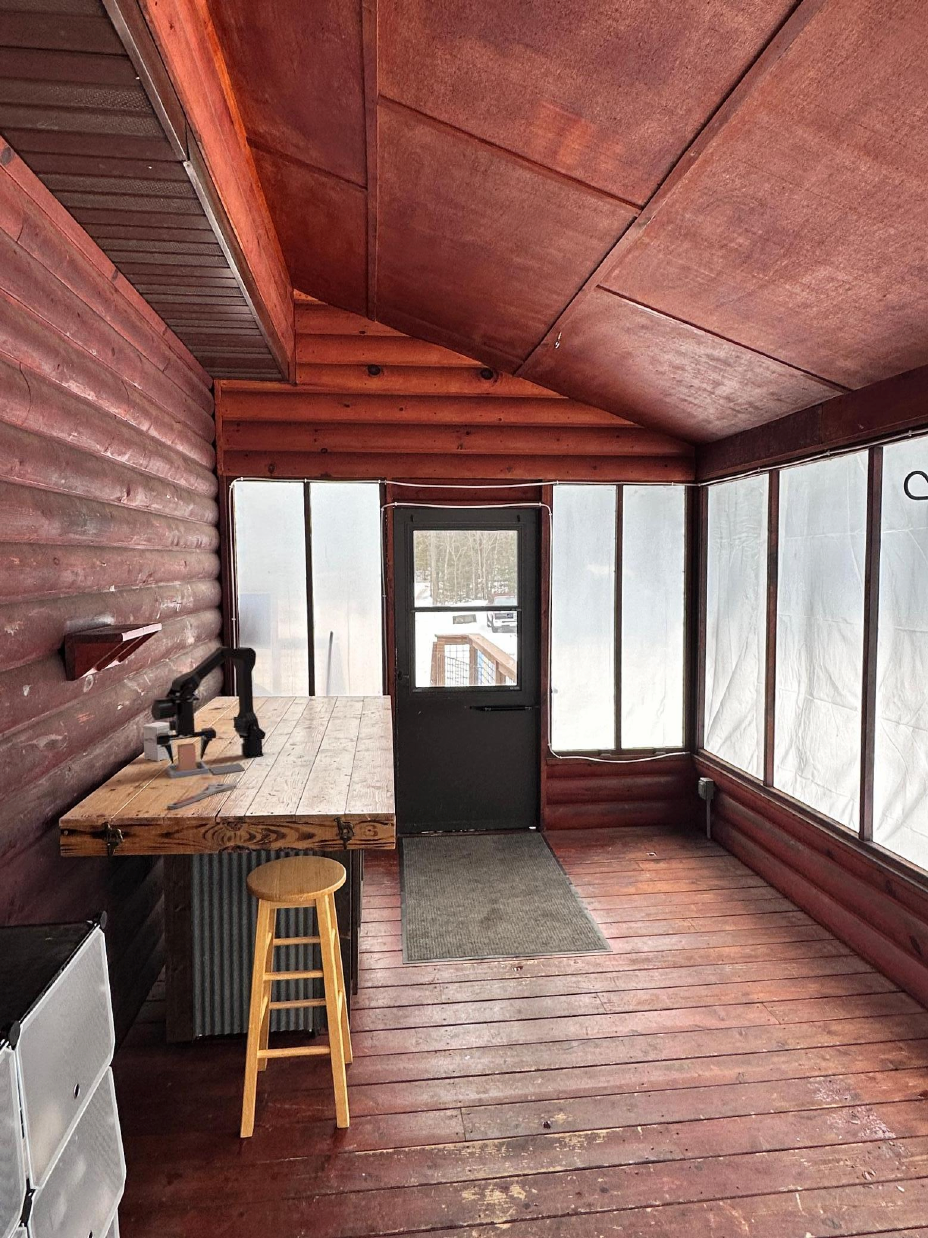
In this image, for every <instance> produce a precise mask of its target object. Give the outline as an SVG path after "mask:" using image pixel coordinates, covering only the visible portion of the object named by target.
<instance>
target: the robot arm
mask: <svg viewBox="0 0 928 1238" xmlns="http://www.w3.org/2000/svg"><path fill="white" fill-rule="evenodd" d="M227 659H230V660H232V663H233V666H234V668H235V670H236V671H237V672H236V673H237V686H238V687H237V688H238V710H239V711H238V713H237V716H233V718H232V719H233V727H232V728H233V729H234V731H235V733H237V734H238V736H239V739H242V743H241V744H240V746H241V747H240V748H241V755H242V756H243V757H244V758H245V759H250V758H257V757H263V756H265V754H264V753H263V740H265V737H266V731H264V730H263V729H262V727H261V728H260V724H259V720H258V717H257V715H256V713H255V711H254V696H253V692H254V691H253V675H252V672H253V671H254V667H255V665H256V661H257V653H256V651H255V650H254V649H253V648H252V647H245V646H244V647H243V646H238V647H235V648H232V647H229V646H222V645H221V646H217V647H216V648H215V650H214V651H212V653H211V654H210V655H208V656H207V657H206V658H204V659H203V660H202V661H201V662H200V663H198V665H196V666H195V667H193V669H192V670H190V671H188V672H186V673H184V674H181V675H179V676H178V677H176V678H174V680H172V682H171V687H170V688H169V690H168V692H167V694H166V695H165V697H163V698H157V699H156V698H155V699H154V701H153V704H152V707H151V709H150V712H151V716H152V718H153V720H155V721H162V720H166V719H172V718H175V720H170V721H168V723H169V730H170V731H173V732H174V731H175V732H174V733H173V735H169V734H168V733H159V734H156V735H155V742H156V744H157V745H161V747H165V749H166V750H167V752H168V755H169V757H170V758H169V759H170V762H171V765H174V757H173V754H172V748H171V744H170V743H169V742H170V741H171V740H173V741H177V740H185V739H186V740H187V739H195V738H200V750H199V751H200V754H199V755H200V761H203V758H204V756H205V752H206V751H207V748H208V747H209V746H208V745H209V744H210V742H213V739H217V731H216V730H215V728H213V727H211V726H210V727H203V728H201V731H195V730H196V728H195V709H194V708H195V706H194V705H195V704H194V702H197V701H200V698H199V697H198V696H197V695H196V694H195V693H196V691H197V690H198V688H199V687H200V686H201V683H202V681H203V680H204V679H205V678H206V677H207V676H209V674H211V673H212V672H213V671H214V670H215V669H216V668H218V667H219V666H220V665H221V664H222V663H224V662H225V660H227Z"/></svg>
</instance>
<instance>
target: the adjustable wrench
mask: <svg viewBox="0 0 928 1238" xmlns="http://www.w3.org/2000/svg"><path fill="white" fill-rule="evenodd" d="M237 788H238V780H237V779H234V780H233V781H231V782H228V783H227V782H224V783H222V782H219V783H217V782H214V783H213V782H209V783H207V786H206V787H205V789H206V790H205V791H201V792H198V793H196V794H193V795H191V796H188V797H185V798H182V799H180V800H177V801H175V802H172V803H170V804H167V805H166V806H167V807H166V808H167V809H169V810H173V809H178V808H182V807H184V806H187V805H190V804H193V803H194V802H198V801H199V800H201V799H205V798H207V797H210V796H212V795H215V794H217V793H221V792H230V791H233V790H234V791H235V789H237Z"/></svg>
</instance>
